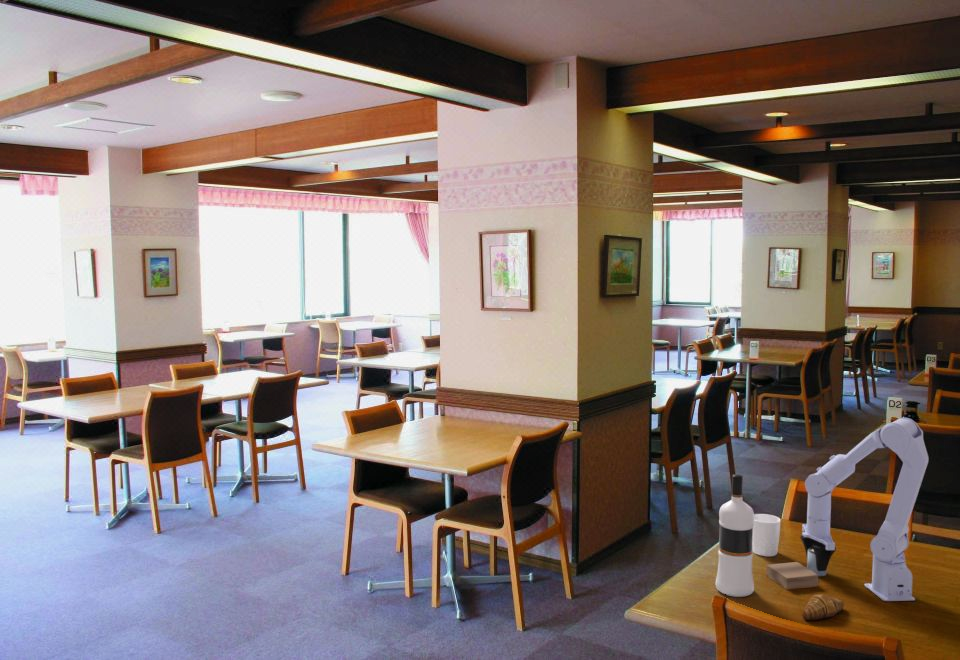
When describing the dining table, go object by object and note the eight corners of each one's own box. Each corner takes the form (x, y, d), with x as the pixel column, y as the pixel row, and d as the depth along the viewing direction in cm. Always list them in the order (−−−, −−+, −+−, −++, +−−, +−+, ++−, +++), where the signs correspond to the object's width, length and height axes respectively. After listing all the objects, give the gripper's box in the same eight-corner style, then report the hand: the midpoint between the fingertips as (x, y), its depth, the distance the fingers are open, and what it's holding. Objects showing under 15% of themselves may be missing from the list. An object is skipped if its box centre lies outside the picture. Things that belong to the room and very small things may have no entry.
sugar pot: (829, 576, 210) (830, 552, 209) (811, 576, 209) (812, 553, 209) (821, 568, 214) (822, 546, 214) (803, 569, 214) (804, 546, 214)
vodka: (713, 594, 198) (715, 477, 196) (717, 580, 207) (720, 468, 204) (752, 601, 195) (755, 481, 192) (755, 586, 203) (758, 472, 200)
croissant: (828, 603, 194) (829, 583, 193) (853, 613, 188) (854, 593, 187) (791, 615, 187) (792, 595, 187) (816, 627, 181) (817, 606, 181)
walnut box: (817, 586, 203) (818, 575, 203) (786, 589, 201) (786, 578, 201) (796, 572, 212) (797, 561, 212) (766, 575, 210) (766, 564, 210)
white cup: (775, 547, 230) (776, 514, 229) (782, 558, 222) (783, 523, 221) (747, 546, 231) (748, 513, 230) (753, 557, 223) (754, 522, 222)
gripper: (792, 508, 218) (790, 556, 219) (816, 526, 203) (814, 578, 204) (817, 508, 218) (815, 556, 219) (843, 526, 203) (841, 577, 205)
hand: (816, 566), depth 212 cm, fingers closed on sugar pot, 5 cm apart
